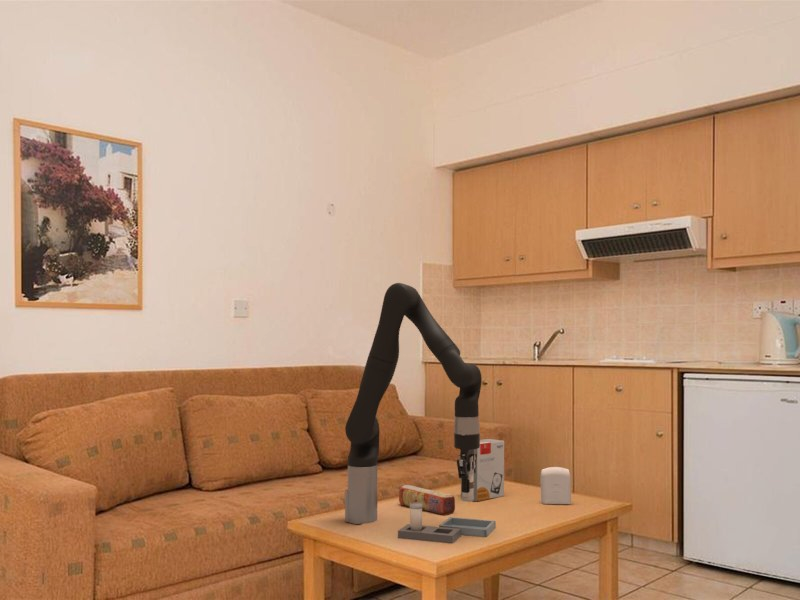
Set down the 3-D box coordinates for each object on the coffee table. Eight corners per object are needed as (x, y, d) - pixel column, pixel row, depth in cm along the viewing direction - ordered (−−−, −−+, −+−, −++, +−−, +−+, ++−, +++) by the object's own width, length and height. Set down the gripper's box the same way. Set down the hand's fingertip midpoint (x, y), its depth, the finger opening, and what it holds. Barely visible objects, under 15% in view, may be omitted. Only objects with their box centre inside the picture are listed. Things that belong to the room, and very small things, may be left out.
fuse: (408, 536, 209) (407, 504, 210) (412, 533, 213) (412, 501, 213) (420, 537, 208) (419, 505, 209) (424, 534, 211) (424, 502, 212)
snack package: (457, 513, 241) (456, 492, 241) (443, 516, 236) (443, 495, 236) (411, 503, 256) (411, 483, 256) (397, 506, 251) (397, 485, 252)
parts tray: (438, 534, 214) (438, 525, 214) (450, 525, 224) (450, 517, 224) (486, 538, 209) (486, 529, 209) (495, 529, 219) (495, 520, 219)
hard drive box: (476, 502, 256) (475, 444, 257) (460, 498, 261) (459, 442, 263) (505, 495, 266) (504, 440, 267) (488, 492, 272) (488, 438, 273)
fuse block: (397, 539, 208) (397, 530, 208) (407, 532, 216) (407, 524, 216) (452, 545, 202) (452, 535, 202) (460, 537, 210) (460, 528, 210)
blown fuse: (460, 500, 216) (459, 469, 216) (463, 498, 219) (463, 467, 220) (472, 501, 215) (471, 470, 215) (475, 499, 218) (475, 468, 218)
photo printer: (541, 504, 252) (540, 467, 253) (540, 502, 256) (539, 465, 257) (572, 505, 251) (571, 468, 252) (570, 502, 255) (570, 466, 256)
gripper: (461, 428, 226) (462, 485, 225) (447, 434, 213) (448, 495, 212) (485, 429, 223) (486, 487, 222) (472, 435, 210) (473, 496, 209)
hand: (467, 490), depth 217 cm, fingers closed on blown fuse, 3 cm apart
